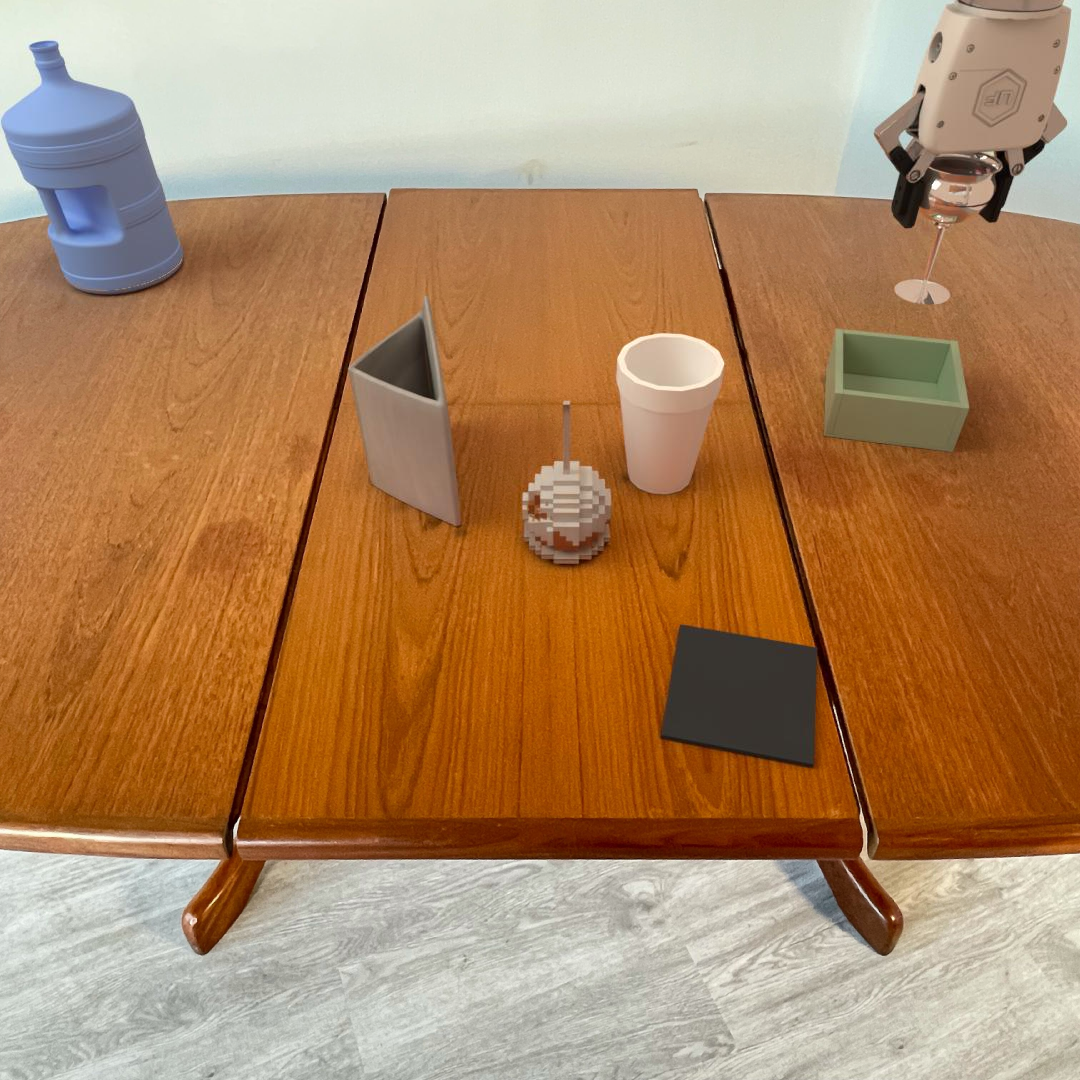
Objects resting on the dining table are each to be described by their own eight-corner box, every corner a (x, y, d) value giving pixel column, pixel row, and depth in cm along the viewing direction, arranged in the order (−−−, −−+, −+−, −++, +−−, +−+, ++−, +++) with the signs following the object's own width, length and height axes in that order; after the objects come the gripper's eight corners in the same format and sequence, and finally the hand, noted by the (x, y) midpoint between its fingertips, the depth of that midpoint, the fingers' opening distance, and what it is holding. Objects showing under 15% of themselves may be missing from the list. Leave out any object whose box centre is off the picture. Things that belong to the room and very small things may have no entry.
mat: (816, 651, 71) (817, 647, 70) (812, 768, 63) (814, 764, 63) (679, 627, 73) (680, 623, 72) (660, 738, 65) (660, 734, 65)
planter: (366, 435, 93) (331, 263, 79) (440, 424, 94) (419, 253, 80) (377, 539, 81) (339, 358, 68) (462, 526, 82) (441, 345, 69)
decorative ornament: (526, 509, 84) (520, 375, 73) (607, 509, 83) (613, 375, 73) (522, 567, 78) (515, 432, 68) (610, 568, 78) (616, 432, 67)
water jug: (140, 234, 129) (64, 19, 110) (209, 262, 122) (141, 37, 103) (43, 277, 120) (-58, 51, 101) (112, 309, 113) (18, 73, 94)
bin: (942, 383, 97) (957, 340, 94) (952, 452, 89) (969, 408, 85) (825, 370, 100) (835, 328, 96) (824, 436, 91) (835, 392, 87)
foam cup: (654, 433, 92) (664, 322, 83) (726, 472, 87) (745, 359, 78) (592, 474, 87) (596, 362, 78) (665, 518, 82) (677, 404, 73)
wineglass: (871, 293, 83) (904, 163, 74) (905, 268, 86) (940, 141, 78) (940, 317, 79) (983, 183, 71) (972, 289, 83) (1016, 159, 74)
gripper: (920, 4, 62) (863, 244, 75) (1153, -9, 63) (1060, 230, 76) (880, -19, 68) (833, 208, 80) (1095, -31, 69) (1017, 196, 81)
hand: (944, 217), depth 78 cm, fingers closed on wineglass, 6 cm apart
